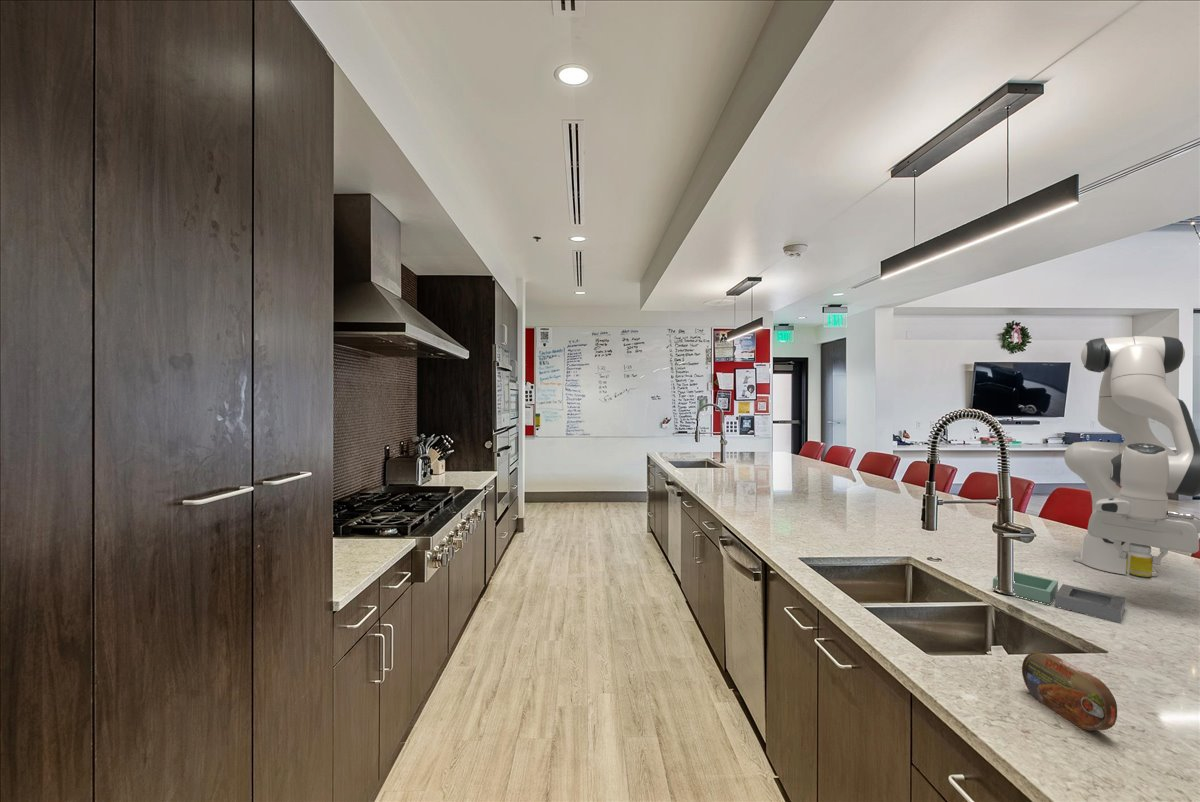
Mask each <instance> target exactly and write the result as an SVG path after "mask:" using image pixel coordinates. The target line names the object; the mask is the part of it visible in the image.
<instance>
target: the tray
mask: <svg viewBox="0 0 1200 802" xmlns="http://www.w3.org/2000/svg"><path fill="white" fill-rule="evenodd" d="M1014 581H1015V583H1014V582H1013V589H1014V591H1015V593H1016V594H1017V596H1019V597H1023V598H1027V599H1030V600H1034V601H1038V602H1042V603H1046V604H1049V605H1050V606H1051V604H1052V603H1053V602H1054V600H1055V595H1056V593H1057V592H1058V591H1059V580H1055V579H1050V578H1046V577H1042V576H1037V575H1032V574H1028V573H1023V572H1019V571H1014ZM997 582H998V577H997V575H995V576H994V577H993V578H992V589H993V588H996V586H997ZM1053 599H1054V600H1053ZM1051 602H1052V603H1051ZM1050 603H1051V604H1050ZM1049 605H1048V606H1049Z"/></svg>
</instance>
